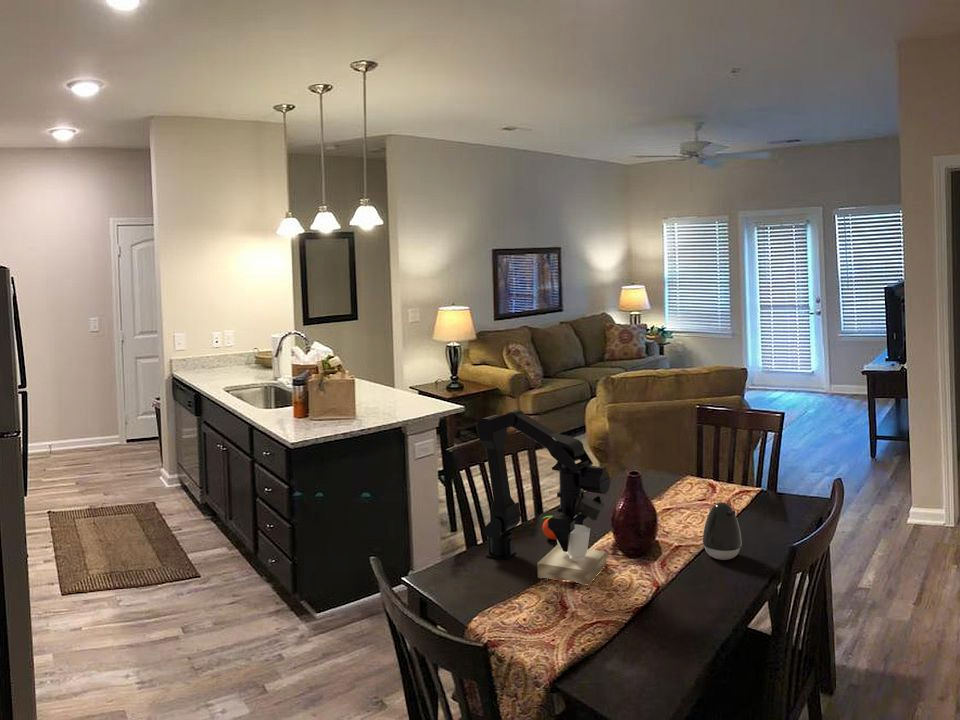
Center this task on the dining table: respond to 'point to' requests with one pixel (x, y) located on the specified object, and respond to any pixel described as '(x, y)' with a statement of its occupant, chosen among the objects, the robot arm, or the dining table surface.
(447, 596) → the dining table surface
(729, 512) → the grey egg-shaped figure
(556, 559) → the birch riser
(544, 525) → the clementine
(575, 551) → the cup
